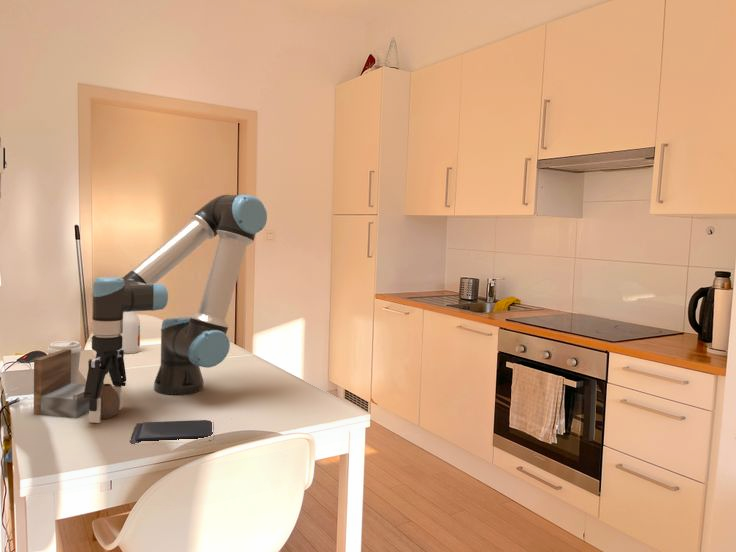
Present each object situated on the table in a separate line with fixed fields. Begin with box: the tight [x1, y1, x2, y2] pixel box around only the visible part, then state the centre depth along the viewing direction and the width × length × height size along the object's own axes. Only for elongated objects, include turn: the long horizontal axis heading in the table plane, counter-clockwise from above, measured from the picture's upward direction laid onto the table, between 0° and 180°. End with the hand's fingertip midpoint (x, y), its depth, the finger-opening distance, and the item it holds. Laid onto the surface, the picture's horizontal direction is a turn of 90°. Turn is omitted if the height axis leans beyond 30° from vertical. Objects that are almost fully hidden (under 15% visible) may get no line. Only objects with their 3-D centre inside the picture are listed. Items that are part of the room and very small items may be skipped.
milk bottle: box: [120, 311, 141, 355], centre depth 228 cm, size 8×8×20 cm
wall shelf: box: [33, 349, 105, 419], centre depth 159 cm, size 12×14×15 cm
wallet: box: [129, 419, 213, 444], centre depth 146 cm, size 20×2×15 cm
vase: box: [99, 383, 120, 420], centre depth 155 cm, size 7×7×9 cm
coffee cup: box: [46, 340, 83, 384], centre depth 173 cm, size 10×10×15 cm
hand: (105, 415), depth 155 cm, fingers open, 10 cm apart
